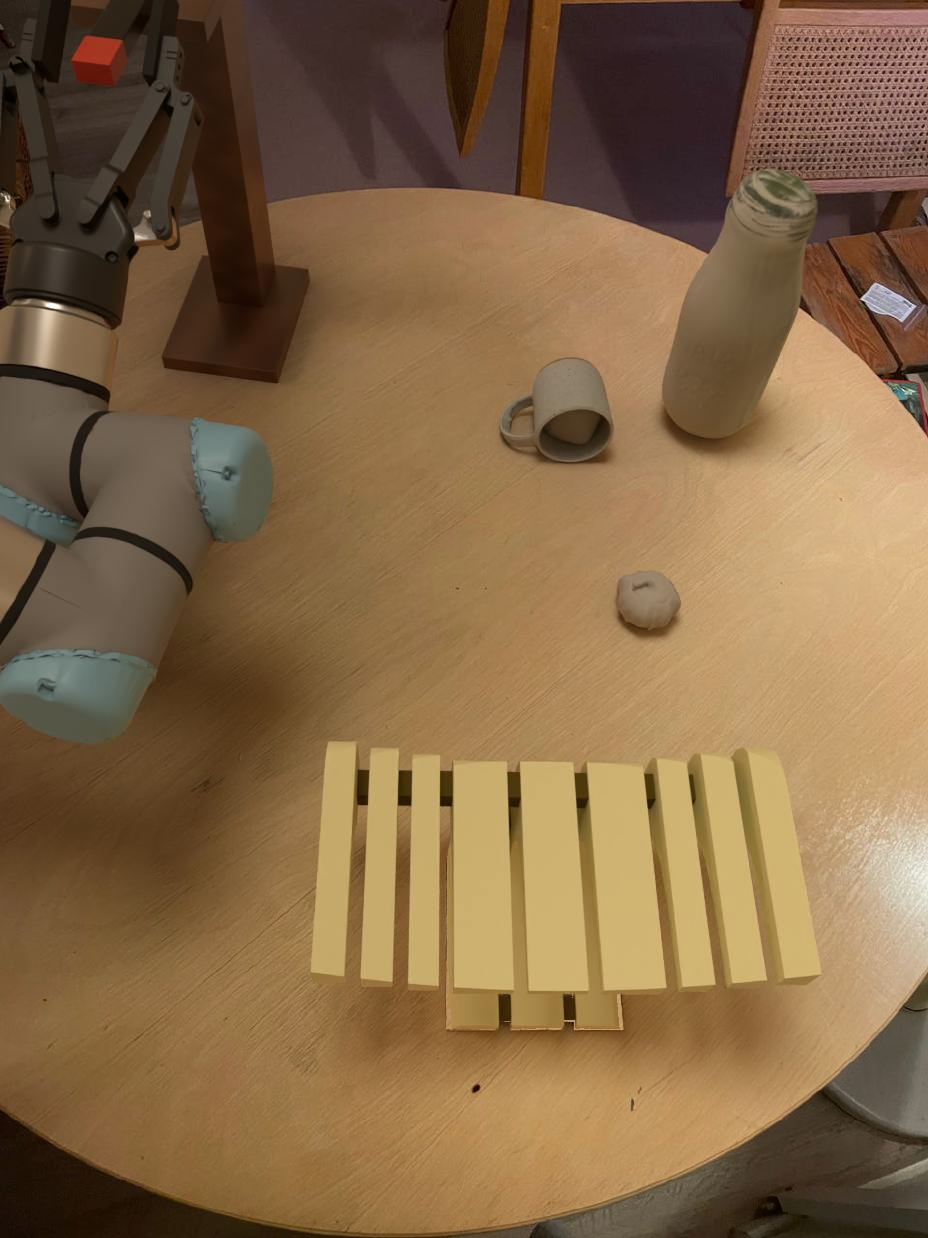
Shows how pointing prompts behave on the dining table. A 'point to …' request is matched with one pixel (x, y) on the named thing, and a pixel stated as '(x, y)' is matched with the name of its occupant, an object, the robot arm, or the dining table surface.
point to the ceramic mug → (565, 412)
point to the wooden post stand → (226, 208)
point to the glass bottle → (740, 306)
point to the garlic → (647, 599)
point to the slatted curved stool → (564, 880)
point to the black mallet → (111, 41)
